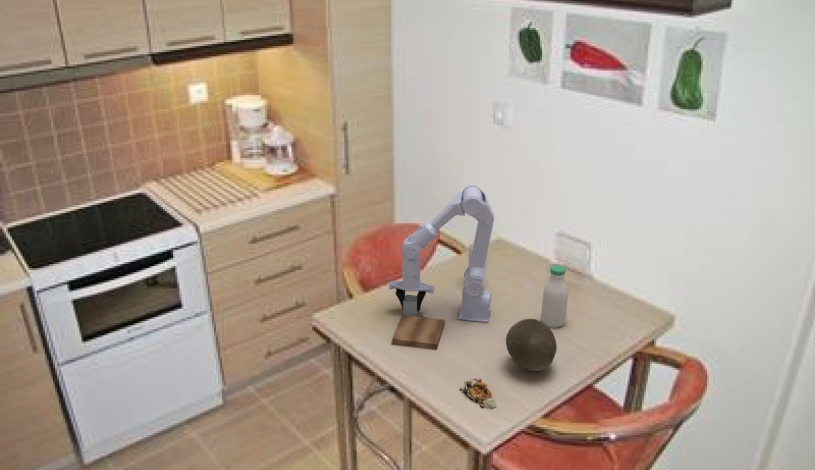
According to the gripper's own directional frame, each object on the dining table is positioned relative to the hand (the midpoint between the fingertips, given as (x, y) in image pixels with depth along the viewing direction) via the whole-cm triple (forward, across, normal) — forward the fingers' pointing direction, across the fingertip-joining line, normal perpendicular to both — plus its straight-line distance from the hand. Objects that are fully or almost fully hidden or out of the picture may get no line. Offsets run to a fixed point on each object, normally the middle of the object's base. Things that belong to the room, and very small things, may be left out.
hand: (411, 309), depth 231 cm
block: (+1, 0, 0) cm, 1 cm away
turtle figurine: (+2, -28, +38) cm, 47 cm away
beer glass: (+2, -19, -23) cm, 30 cm away
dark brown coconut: (+2, -40, +22) cm, 46 cm away
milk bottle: (+2, -46, -4) cm, 46 cm away
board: (+1, -5, +12) cm, 13 cm away
